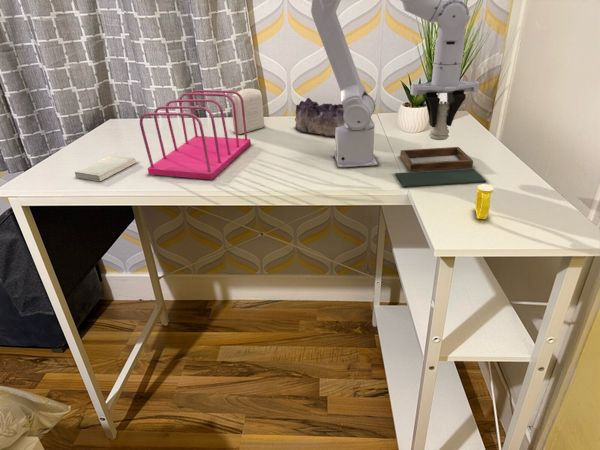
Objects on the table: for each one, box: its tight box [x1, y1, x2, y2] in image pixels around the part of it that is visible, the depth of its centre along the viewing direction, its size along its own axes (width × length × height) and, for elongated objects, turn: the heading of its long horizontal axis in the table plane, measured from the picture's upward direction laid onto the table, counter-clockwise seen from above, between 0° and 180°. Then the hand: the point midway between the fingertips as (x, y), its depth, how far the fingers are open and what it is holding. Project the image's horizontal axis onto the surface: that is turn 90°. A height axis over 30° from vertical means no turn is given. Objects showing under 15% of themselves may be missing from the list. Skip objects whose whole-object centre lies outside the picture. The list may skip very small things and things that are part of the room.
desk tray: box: [399, 146, 474, 172], centre depth 104 cm, size 15×10×2 cm, turn 93°
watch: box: [475, 183, 495, 220], centre depth 80 cm, size 6×3×6 cm, turn 168°
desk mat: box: [395, 168, 487, 188], centre depth 96 cm, size 18×7×1 cm, turn 93°
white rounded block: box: [230, 88, 265, 135], centre depth 131 cm, size 10×4×12 cm, turn 134°
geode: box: [294, 97, 345, 137], centre depth 127 cm, size 20×12×10 cm, turn 64°
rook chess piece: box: [428, 100, 450, 141], centre depth 98 cm, size 4×4×8 cm
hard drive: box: [74, 154, 137, 182], centre depth 110 cm, size 2×8×12 cm
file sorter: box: [139, 89, 252, 180], centre depth 110 cm, size 17×25×16 cm
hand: (440, 125), depth 98 cm, fingers closed on rook chess piece, 3 cm apart
